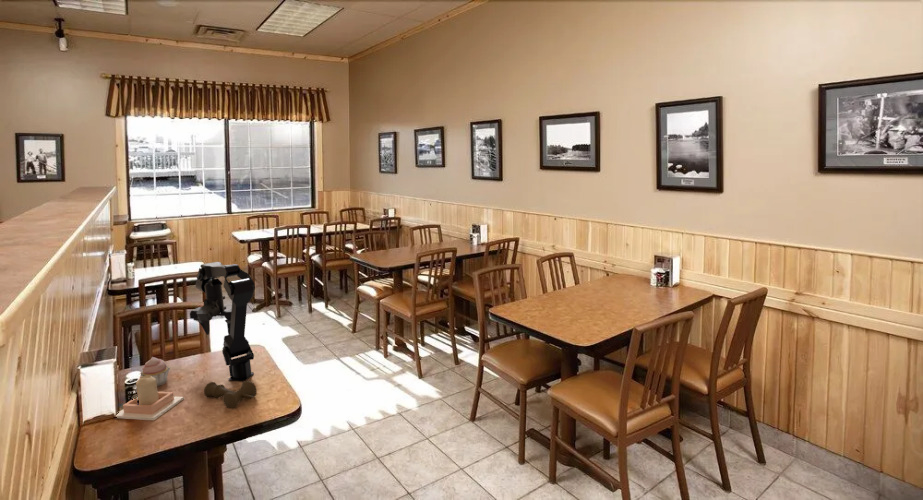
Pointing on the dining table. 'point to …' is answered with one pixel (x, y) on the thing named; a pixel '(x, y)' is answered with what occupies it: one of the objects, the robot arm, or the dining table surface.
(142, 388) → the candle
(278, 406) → the dining table surface
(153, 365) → the cupcake
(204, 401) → the dining table surface
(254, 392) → the kendama
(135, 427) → the dining table surface
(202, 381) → the dining table surface
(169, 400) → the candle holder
